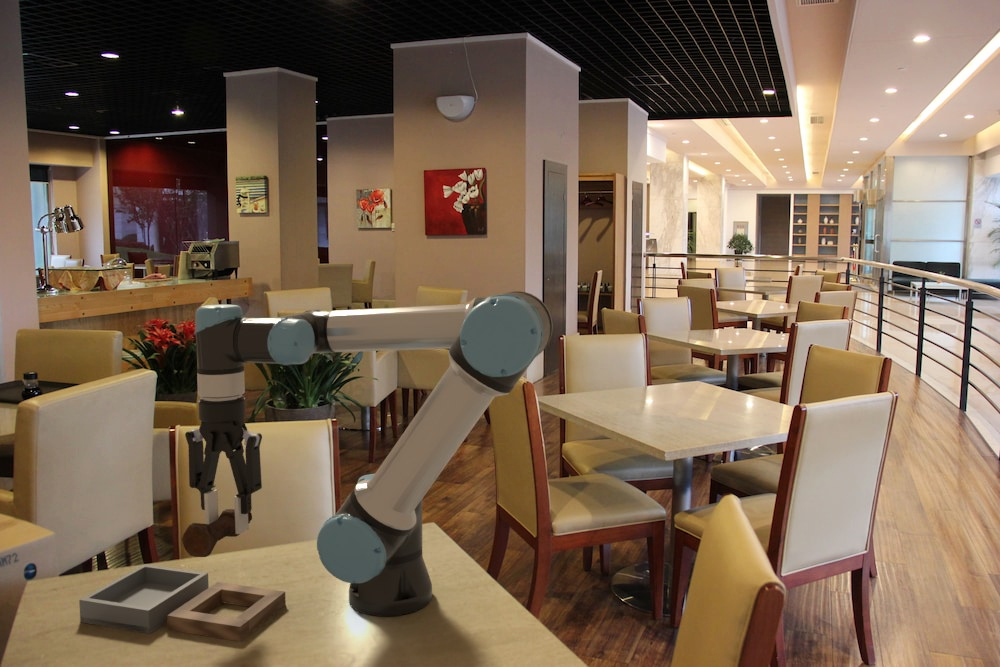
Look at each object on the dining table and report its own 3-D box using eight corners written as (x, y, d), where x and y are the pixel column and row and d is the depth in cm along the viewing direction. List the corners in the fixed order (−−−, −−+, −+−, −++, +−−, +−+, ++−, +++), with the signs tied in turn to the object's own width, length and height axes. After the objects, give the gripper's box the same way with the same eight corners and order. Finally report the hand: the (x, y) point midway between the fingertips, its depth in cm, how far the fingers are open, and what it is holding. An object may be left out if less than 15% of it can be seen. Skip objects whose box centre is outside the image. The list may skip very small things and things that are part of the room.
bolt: (240, 494, 145) (192, 518, 130) (263, 510, 144) (216, 535, 130) (226, 521, 146) (176, 547, 131) (248, 536, 145) (200, 565, 131)
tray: (208, 593, 150) (208, 572, 150) (149, 633, 135) (148, 610, 135) (145, 584, 154) (144, 564, 154) (80, 622, 139) (79, 599, 138)
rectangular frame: (285, 604, 146) (285, 591, 146) (240, 641, 133) (240, 626, 132) (218, 595, 150) (217, 582, 150) (167, 629, 136) (167, 615, 136)
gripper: (281, 395, 138) (285, 527, 141) (189, 389, 143) (195, 517, 145) (257, 403, 131) (261, 542, 133) (161, 397, 136) (167, 532, 138)
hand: (227, 529), depth 139 cm, fingers closed on bolt, 5 cm apart
